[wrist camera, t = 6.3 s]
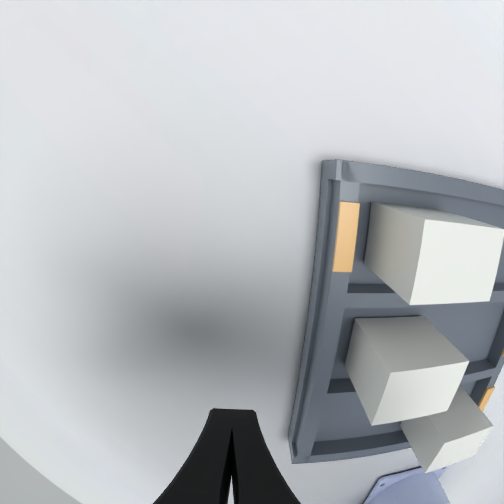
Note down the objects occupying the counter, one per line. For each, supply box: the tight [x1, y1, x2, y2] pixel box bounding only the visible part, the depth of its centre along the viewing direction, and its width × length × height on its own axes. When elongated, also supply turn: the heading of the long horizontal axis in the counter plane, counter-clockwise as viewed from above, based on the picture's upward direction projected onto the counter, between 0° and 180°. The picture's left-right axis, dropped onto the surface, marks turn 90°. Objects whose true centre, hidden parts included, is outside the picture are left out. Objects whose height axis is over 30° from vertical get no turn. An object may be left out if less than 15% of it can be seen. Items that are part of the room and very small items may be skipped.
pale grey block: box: [400, 385, 493, 473], centre depth 14 cm, size 3×4×4 cm
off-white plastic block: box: [364, 202, 504, 305], centre depth 11 cm, size 3×4×4 cm
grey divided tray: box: [288, 160, 504, 464], centre depth 15 cm, size 17×14×3 cm
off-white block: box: [345, 316, 469, 426], centre depth 12 cm, size 3×4×4 cm
